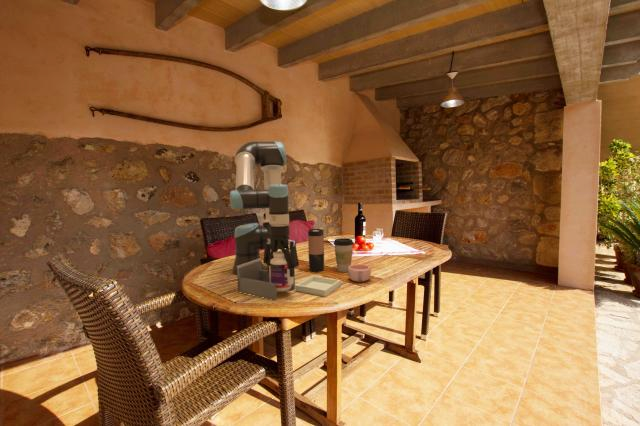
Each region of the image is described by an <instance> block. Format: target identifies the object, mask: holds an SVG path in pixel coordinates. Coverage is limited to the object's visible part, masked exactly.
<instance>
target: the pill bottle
mask: <svg viewBox="0 0 640 426" xmlns="http://www.w3.org/2000/svg"><path fill="white" fill-rule="evenodd" d="M273 257H274V258H272V259H271V261H270V271H271V283H275V284H276V292H286V291H288V290H291V289H290V288H291V287H292V285H290V286H288V281H287V269H288V268H289V267H288V264H287V261H286V259H285V256H284V253H283V252H282V251H281V250H277V251H276V252H273Z"/></svg>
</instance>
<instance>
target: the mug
mask: <svg viewBox="0 0 640 426" xmlns="http://www.w3.org/2000/svg"><path fill="white" fill-rule="evenodd" d="M371 274H372V273H371V267H370V266H369V265H368V264H362V263H355V264H351V265H350V266H349V267H348V271H347V275H348V277H349V279H350V280H352V281H353V282H358V283H359V282H366V281H368V280H369V279H370V276H371Z"/></svg>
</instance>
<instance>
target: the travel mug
mask: <svg viewBox="0 0 640 426" xmlns="http://www.w3.org/2000/svg"><path fill="white" fill-rule="evenodd" d="M307 237H308V239H307V241H308V242H307V243H308V247H307V248H308V269H309V271H310V272H312V273H320V272H321V273H322V272H323V271H324V269H325V242H324V241H325V240H324V229H323V228H311V229H308V231H307Z"/></svg>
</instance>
